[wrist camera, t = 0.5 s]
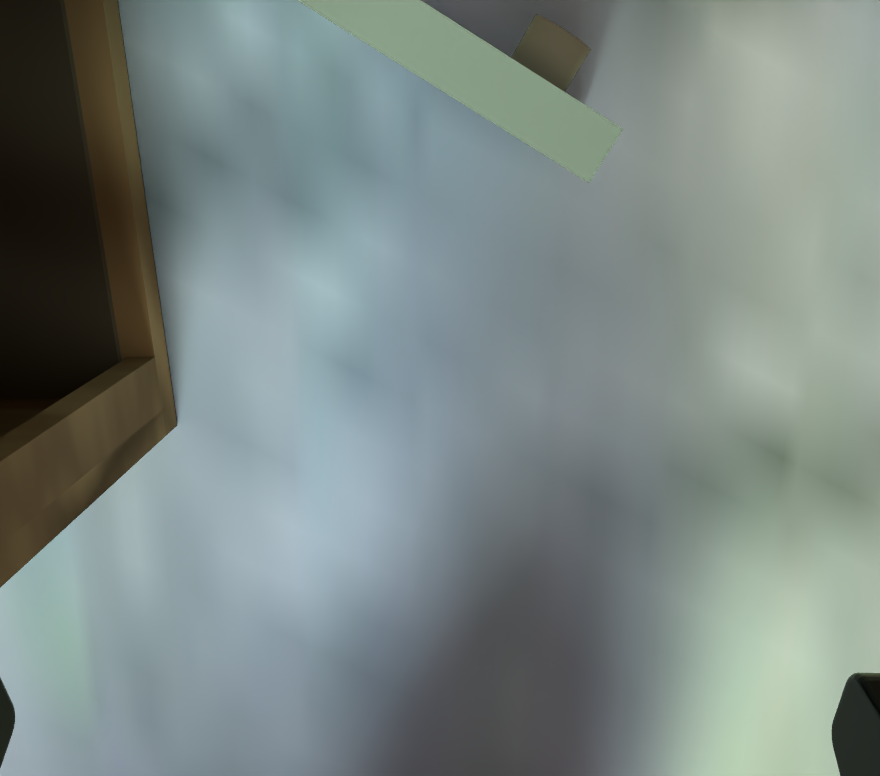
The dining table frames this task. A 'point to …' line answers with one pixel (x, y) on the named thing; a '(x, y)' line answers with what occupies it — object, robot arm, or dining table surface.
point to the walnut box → (71, 274)
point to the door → (490, 74)
